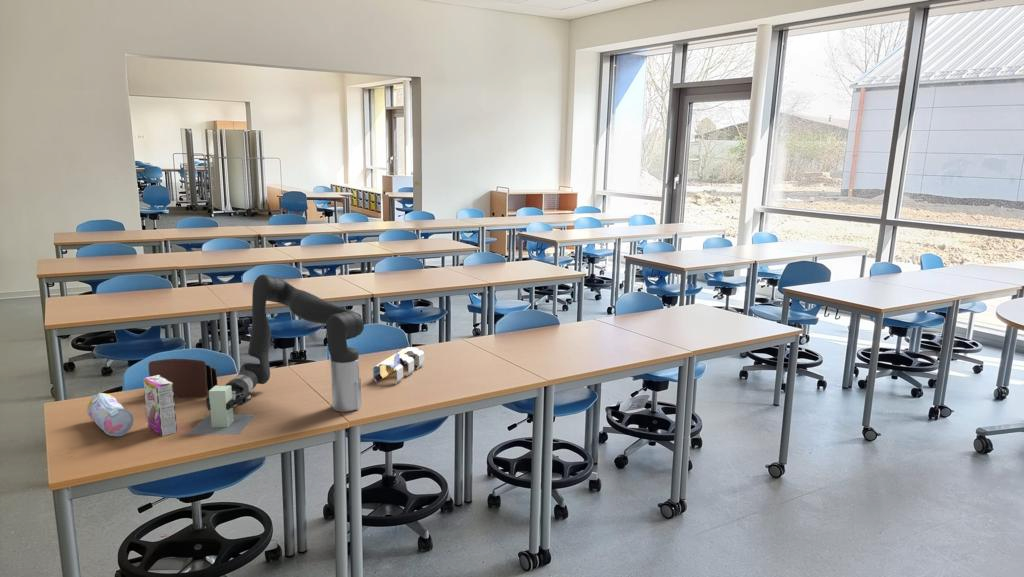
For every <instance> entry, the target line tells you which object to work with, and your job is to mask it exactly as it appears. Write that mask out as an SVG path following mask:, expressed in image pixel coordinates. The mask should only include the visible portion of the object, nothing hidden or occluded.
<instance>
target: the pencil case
mask: <svg viewBox="0 0 1024 577" xmlns="http://www.w3.org/2000/svg"><path fill="white" fill-rule="evenodd" d="M86 411H87V415H88V416H89V418H90V419H91V420H92V421H93V422H94V423H95V425H97V426H98V427H99V429H101V430H102V431H103V433H104V434H106V435H108V436H111V437H123V436H124V435H126V434H127V433H128V432H129V431H130V430H131V428H132V427H133V424H134V415H133V413H132V412H131V411H130V410H128V409H127V408H126V407H125V408H124V407H123V404H121V403H120V402H118V400H117V398H116V397H114V395H112V394H109V393H104V392H98V393H97V394H94V395H93V396H92V397H91V398H90V400H89V402H88V404H87V408H86Z"/></svg>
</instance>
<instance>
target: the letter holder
mask: <svg viewBox="0 0 1024 577" xmlns="http://www.w3.org/2000/svg"><path fill="white" fill-rule="evenodd" d="M155 375H160V376H162V377H163V378H165V379H167V380H168V381H170V382H172V383H173V393H174V398H206V397H207V395H208V393H209V390H211V389H212V388H213V387H214V386H219V385H218V375H217V370H216V368H214V367H212V366H211V365H208V364H206V362H205V361H204V360H199V359H190V358H167V359H166V358H165V359H157V360H152V361H149V362H148V377H150V376H155ZM176 396H177V397H176Z"/></svg>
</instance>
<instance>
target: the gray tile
mask: <svg viewBox="0 0 1024 577" xmlns="http://www.w3.org/2000/svg"><path fill="white" fill-rule="evenodd" d="M256 416H257V414H233V417H234V421H233V422H232V423H231V424H230V425H229V427H212V424H211V414H207V415H206V416H205V417H204V418H202V420H200V421H199V422H198V423H197V424H196V425H195V426H194V427H193V428H191V429H190V430H189V431H188V432H187V433H186V435H188V436H189V435H190V436H191V435H195V436H196V435H240V434H241V433H242V432H243V431H244V430H245V429H246V427H247V426H249V424H250V423H251V422H252V421H253V420H254V419H255V417H256Z"/></svg>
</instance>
